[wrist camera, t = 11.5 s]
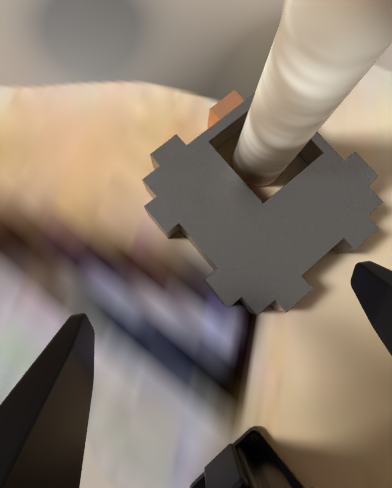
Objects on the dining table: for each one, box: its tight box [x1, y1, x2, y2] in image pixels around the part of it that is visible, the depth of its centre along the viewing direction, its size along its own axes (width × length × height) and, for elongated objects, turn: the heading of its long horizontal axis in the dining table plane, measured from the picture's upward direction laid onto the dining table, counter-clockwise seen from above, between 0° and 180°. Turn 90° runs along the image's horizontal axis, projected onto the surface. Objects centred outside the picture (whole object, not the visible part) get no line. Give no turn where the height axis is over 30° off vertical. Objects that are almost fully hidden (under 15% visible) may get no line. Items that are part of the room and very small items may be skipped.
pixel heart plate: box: [142, 90, 383, 315], centre depth 23 cm, size 15×15×2 cm
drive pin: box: [232, 0, 392, 186], centre depth 18 cm, size 4×4×14 cm
